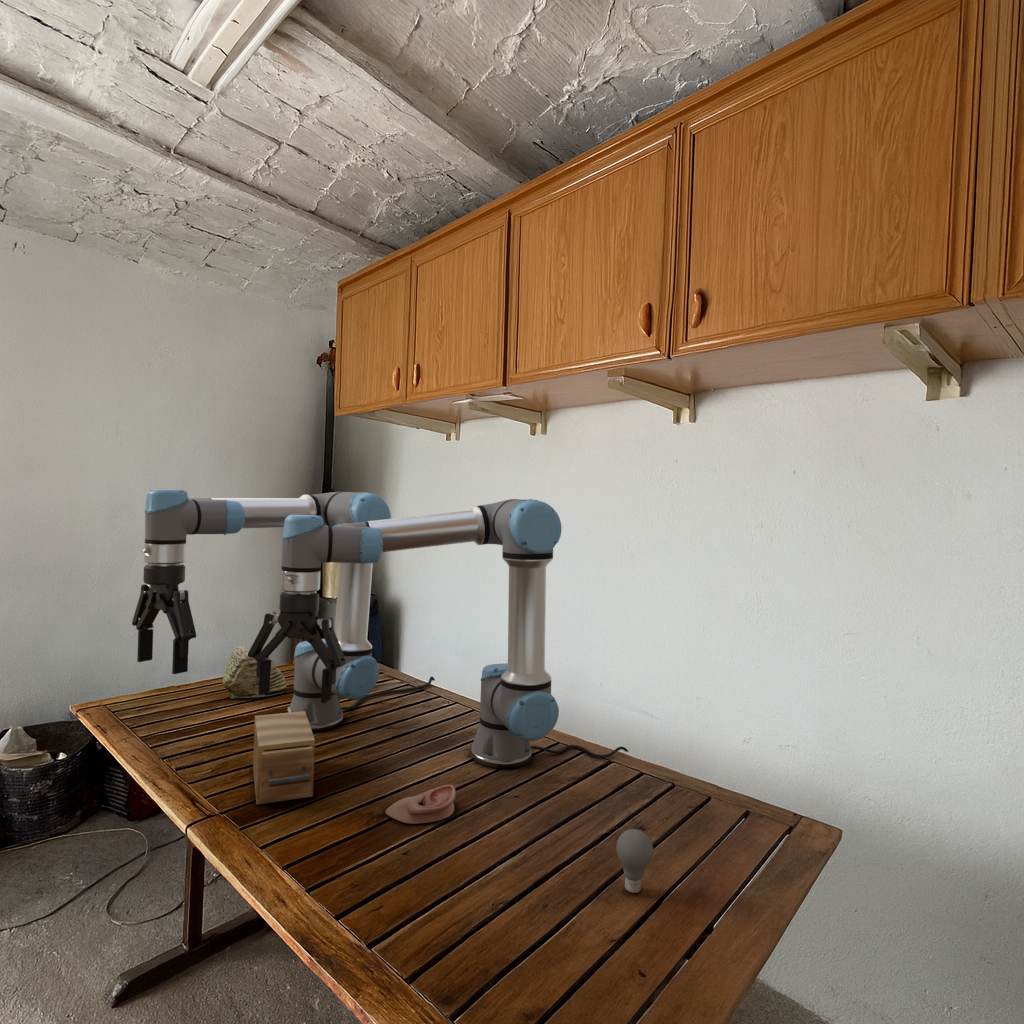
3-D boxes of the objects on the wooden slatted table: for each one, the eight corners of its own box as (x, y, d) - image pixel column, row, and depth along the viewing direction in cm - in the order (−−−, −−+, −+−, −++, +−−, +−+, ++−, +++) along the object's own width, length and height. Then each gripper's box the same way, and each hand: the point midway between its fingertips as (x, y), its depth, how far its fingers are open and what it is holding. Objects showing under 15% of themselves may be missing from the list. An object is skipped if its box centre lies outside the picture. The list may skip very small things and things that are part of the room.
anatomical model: (379, 799, 125) (401, 775, 136) (379, 819, 125) (400, 793, 136) (444, 809, 122) (460, 783, 134) (443, 829, 122) (460, 802, 134)
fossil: (218, 695, 195) (220, 647, 195) (278, 685, 208) (279, 640, 207) (228, 703, 189) (230, 653, 188) (289, 692, 201) (290, 645, 201)
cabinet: (312, 796, 134) (314, 739, 134) (256, 804, 129) (258, 746, 129) (303, 761, 151) (305, 711, 151) (253, 767, 146) (254, 715, 146)
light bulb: (610, 879, 108) (613, 822, 108) (644, 879, 109) (647, 822, 109) (619, 902, 102) (622, 840, 102) (655, 901, 103) (658, 840, 103)
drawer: (314, 808, 127) (316, 759, 126) (261, 817, 123) (263, 765, 122) (302, 762, 148) (303, 720, 148) (256, 768, 144) (258, 724, 144)
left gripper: (115, 559, 134) (112, 659, 134) (180, 571, 120) (176, 682, 121) (151, 557, 140) (149, 652, 141) (217, 568, 126) (213, 673, 127)
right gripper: (232, 588, 126) (227, 695, 126) (349, 599, 121) (343, 709, 121) (255, 584, 133) (250, 684, 133) (366, 594, 128) (360, 698, 129)
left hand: (161, 666), depth 131 cm, fingers open, 13 cm apart
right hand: (294, 697), depth 127 cm, fingers open, 13 cm apart
